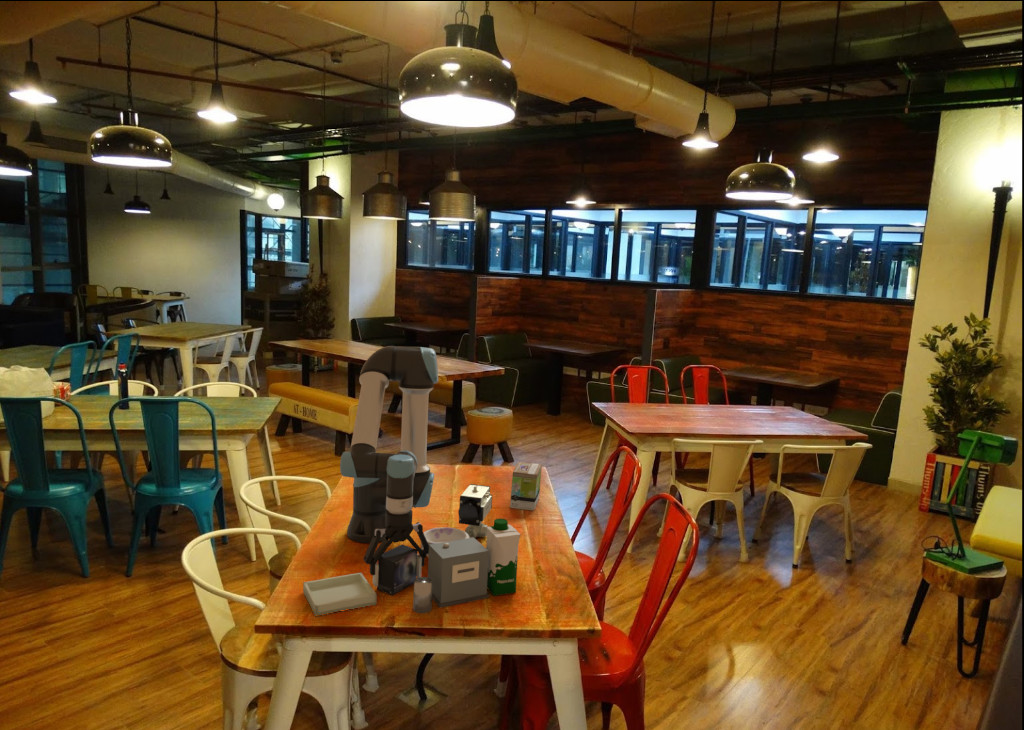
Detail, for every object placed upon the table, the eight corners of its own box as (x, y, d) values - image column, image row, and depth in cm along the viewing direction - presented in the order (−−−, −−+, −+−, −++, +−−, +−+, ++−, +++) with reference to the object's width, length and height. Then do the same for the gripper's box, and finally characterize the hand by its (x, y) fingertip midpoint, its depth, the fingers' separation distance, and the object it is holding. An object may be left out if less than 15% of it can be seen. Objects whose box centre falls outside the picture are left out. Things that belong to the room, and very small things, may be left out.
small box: (393, 596, 196) (394, 561, 194) (375, 589, 199) (376, 555, 198) (417, 582, 205) (418, 549, 203) (400, 576, 208) (401, 543, 207)
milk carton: (508, 580, 210) (511, 516, 207) (520, 593, 202) (524, 528, 199) (480, 584, 206) (483, 519, 203) (492, 598, 198) (495, 531, 195)
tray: (303, 592, 196) (303, 582, 195) (361, 582, 203) (361, 572, 203) (315, 616, 183) (315, 606, 183) (376, 604, 191) (376, 594, 190)
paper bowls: (450, 545, 233) (451, 522, 232) (477, 561, 221) (479, 538, 220) (411, 555, 223) (412, 532, 222) (437, 573, 212) (438, 548, 210)
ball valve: (480, 547, 232) (483, 496, 229) (456, 544, 234) (458, 493, 231) (493, 527, 249) (495, 480, 247) (470, 525, 251) (472, 477, 248)
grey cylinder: (410, 606, 191) (411, 578, 190) (427, 602, 194) (428, 575, 192) (416, 614, 187) (417, 586, 186) (434, 611, 189) (435, 583, 188)
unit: (424, 590, 201) (426, 541, 198) (472, 581, 208) (474, 533, 205) (439, 607, 191) (441, 556, 189) (488, 597, 198) (491, 548, 196)
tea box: (535, 511, 268) (537, 474, 266) (509, 508, 270) (511, 471, 268) (539, 498, 283) (542, 463, 281) (515, 495, 285) (517, 460, 282)
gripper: (360, 519, 190) (359, 594, 193) (444, 508, 201) (441, 579, 205) (353, 510, 196) (351, 582, 199) (434, 500, 208) (431, 568, 211)
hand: (397, 581), depth 202 cm, fingers open, 12 cm apart
